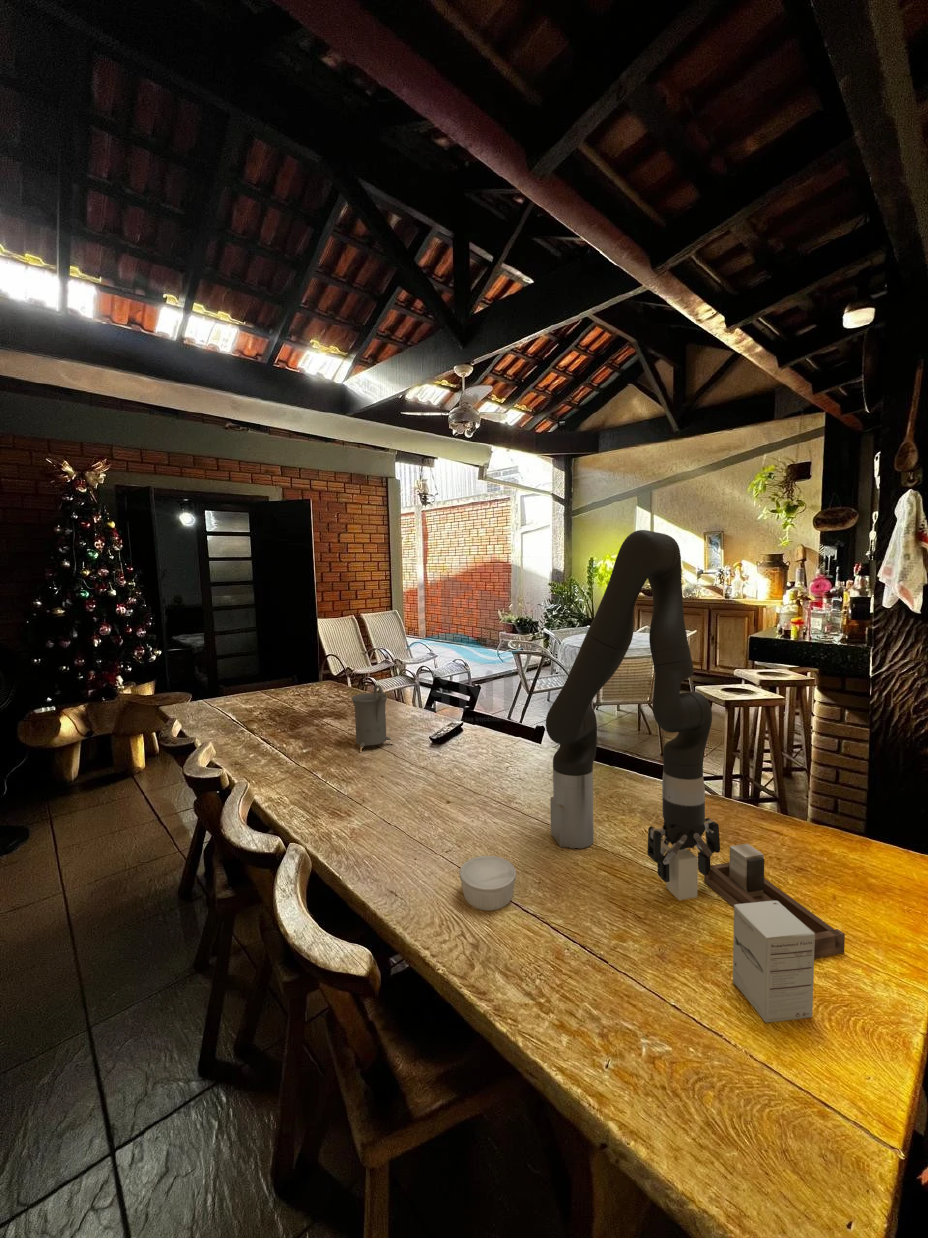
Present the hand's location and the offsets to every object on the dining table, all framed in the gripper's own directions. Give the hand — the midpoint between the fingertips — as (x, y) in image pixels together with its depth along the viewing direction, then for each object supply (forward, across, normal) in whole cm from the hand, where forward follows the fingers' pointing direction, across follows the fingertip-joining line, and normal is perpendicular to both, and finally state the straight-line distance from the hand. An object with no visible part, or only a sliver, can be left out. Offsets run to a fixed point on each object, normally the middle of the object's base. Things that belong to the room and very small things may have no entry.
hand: (684, 876), depth 97 cm
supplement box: (+4, -4, -25) cm, 25 cm away
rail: (+3, +10, -9) cm, 14 cm away
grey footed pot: (+2, -57, +108) cm, 122 cm away
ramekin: (+3, -37, +9) cm, 39 cm away
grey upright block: (+3, 0, 0) cm, 3 cm away
